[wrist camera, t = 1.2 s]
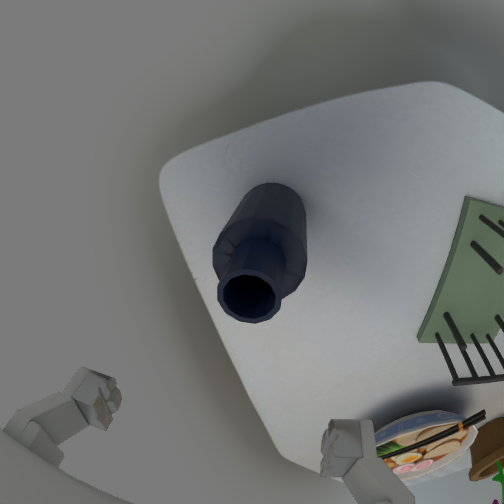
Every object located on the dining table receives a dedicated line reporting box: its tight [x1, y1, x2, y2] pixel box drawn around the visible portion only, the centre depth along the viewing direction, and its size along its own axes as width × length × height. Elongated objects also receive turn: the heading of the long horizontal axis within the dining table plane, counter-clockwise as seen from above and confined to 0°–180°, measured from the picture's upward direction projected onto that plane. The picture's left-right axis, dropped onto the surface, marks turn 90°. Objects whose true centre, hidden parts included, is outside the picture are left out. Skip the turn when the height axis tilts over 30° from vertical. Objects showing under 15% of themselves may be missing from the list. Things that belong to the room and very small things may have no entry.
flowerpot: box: [469, 417, 504, 504], centre depth 28 cm, size 14×14×30 cm
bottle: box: [213, 183, 307, 324], centre depth 22 cm, size 6×6×14 cm
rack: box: [417, 197, 504, 386], centre depth 23 cm, size 18×13×10 cm
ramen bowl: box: [374, 409, 486, 481], centre depth 37 cm, size 25×23×8 cm
